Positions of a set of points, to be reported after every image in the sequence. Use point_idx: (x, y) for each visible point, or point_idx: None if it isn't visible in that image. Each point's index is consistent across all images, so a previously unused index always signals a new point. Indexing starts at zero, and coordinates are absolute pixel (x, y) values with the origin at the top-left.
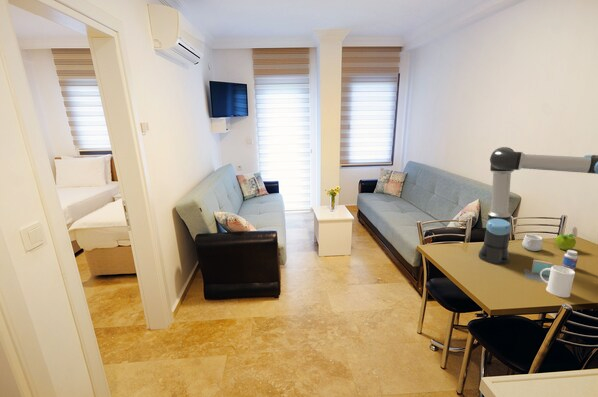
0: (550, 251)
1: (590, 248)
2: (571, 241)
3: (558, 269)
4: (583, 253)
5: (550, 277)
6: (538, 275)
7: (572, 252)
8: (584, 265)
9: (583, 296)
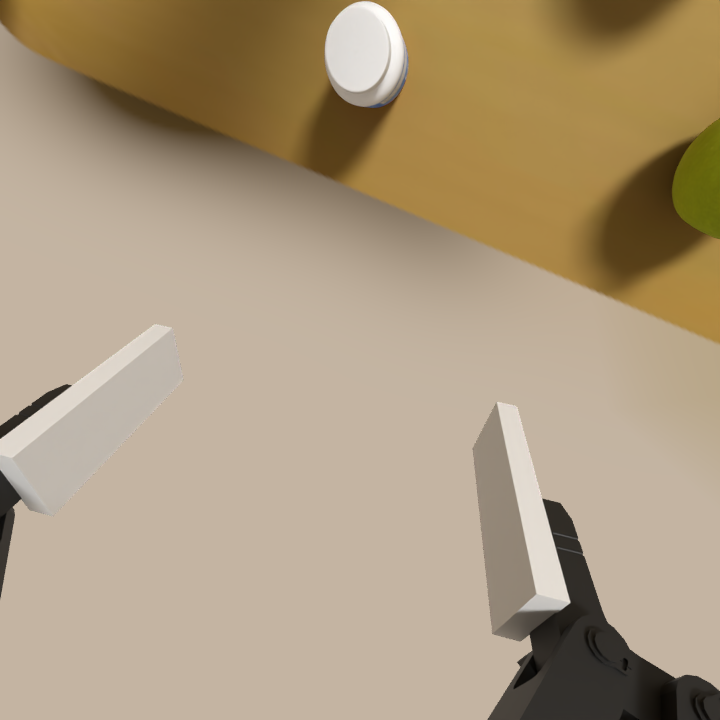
0: (670, 27)
1: (707, 329)
2: (706, 194)
3: None
4: (626, 259)
5: None
6: None
7: (330, 42)
8: (440, 187)
9: (38, 17)
